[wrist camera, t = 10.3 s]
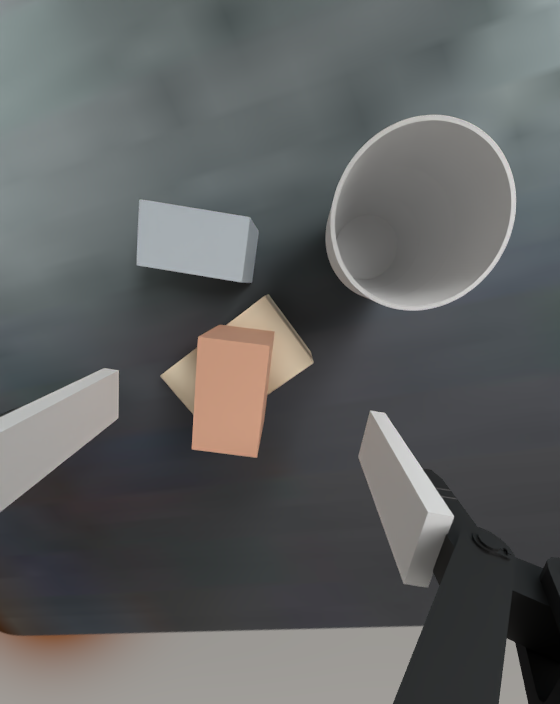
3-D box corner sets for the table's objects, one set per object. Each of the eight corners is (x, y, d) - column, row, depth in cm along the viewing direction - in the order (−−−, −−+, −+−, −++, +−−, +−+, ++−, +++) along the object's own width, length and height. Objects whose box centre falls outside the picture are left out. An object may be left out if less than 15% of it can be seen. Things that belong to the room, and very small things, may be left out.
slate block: (168, 269, 24) (136, 265, 19) (171, 217, 23) (139, 198, 18) (252, 282, 24) (241, 282, 19) (259, 231, 23) (250, 217, 18)
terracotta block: (219, 324, 21) (198, 336, 16) (274, 331, 21) (269, 345, 16) (213, 413, 22) (191, 449, 18) (264, 420, 22) (256, 457, 17)
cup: (325, 310, 24) (348, 327, 14) (303, 207, 22) (313, 145, 12) (424, 286, 23) (521, 287, 13) (410, 177, 21) (509, 88, 12)
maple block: (268, 294, 24) (264, 295, 20) (310, 350, 25) (313, 362, 21) (180, 362, 26) (159, 375, 22) (222, 412, 27) (210, 434, 23)
